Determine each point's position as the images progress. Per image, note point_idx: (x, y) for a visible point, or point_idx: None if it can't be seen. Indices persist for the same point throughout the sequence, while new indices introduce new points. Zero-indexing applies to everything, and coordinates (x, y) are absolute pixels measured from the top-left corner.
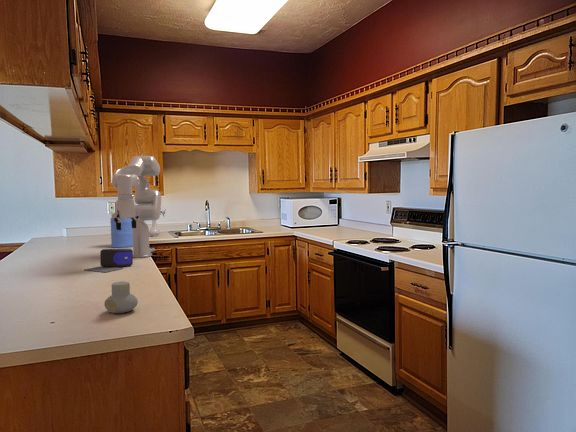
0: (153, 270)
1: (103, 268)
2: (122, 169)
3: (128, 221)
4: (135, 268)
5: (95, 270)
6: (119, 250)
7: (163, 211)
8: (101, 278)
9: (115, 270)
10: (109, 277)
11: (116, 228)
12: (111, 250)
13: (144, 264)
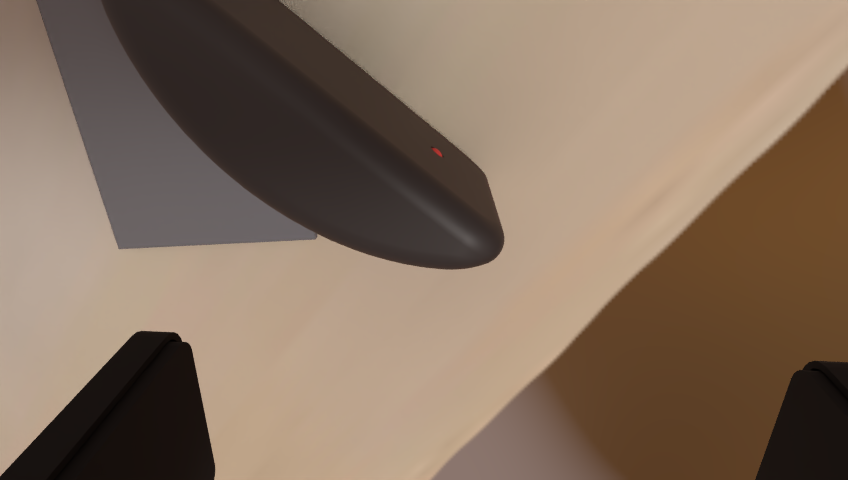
0: (419, 474)
1: None
2: None
3: None
4: (400, 309)
5: (81, 97)
6: (298, 222)
7: None
8: (18, 382)
9: (231, 240)
10: None
11: (120, 352)
12: (201, 149)
13: (593, 230)
